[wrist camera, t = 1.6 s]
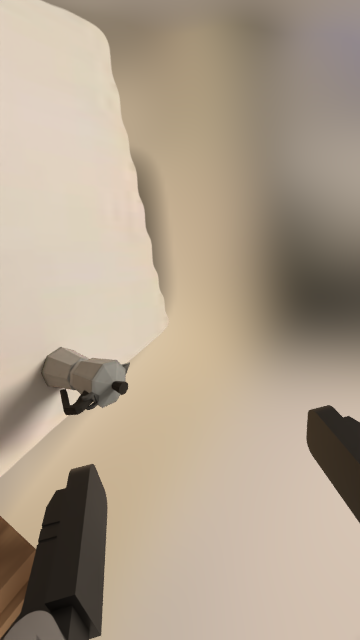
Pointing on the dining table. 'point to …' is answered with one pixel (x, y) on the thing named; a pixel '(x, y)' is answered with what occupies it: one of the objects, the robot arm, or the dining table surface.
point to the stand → (13, 573)
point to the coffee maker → (85, 379)
